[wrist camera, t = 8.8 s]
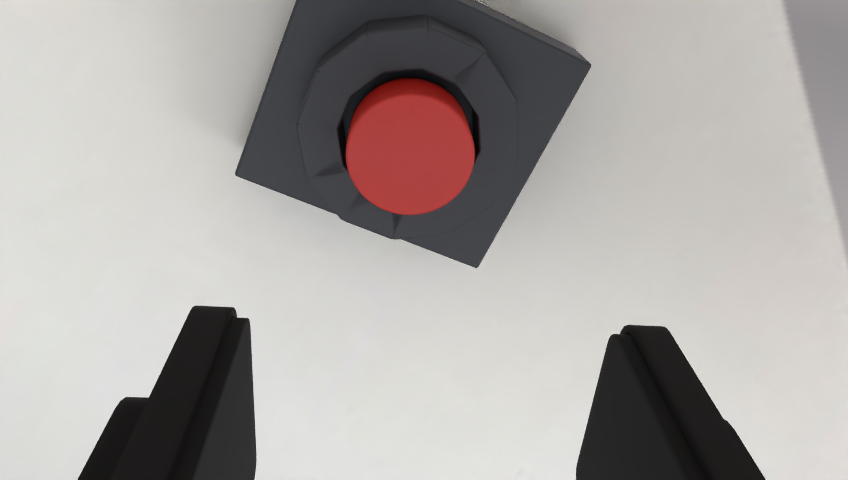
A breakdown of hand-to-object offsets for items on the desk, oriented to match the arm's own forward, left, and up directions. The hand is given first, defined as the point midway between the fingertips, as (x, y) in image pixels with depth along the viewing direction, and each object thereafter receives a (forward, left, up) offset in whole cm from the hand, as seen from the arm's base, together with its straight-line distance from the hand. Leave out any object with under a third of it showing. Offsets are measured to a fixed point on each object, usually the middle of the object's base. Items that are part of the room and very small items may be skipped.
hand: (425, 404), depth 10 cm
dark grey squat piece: (0, 0, -15) cm, 15 cm away
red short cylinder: (0, 0, -12) cm, 12 cm away
